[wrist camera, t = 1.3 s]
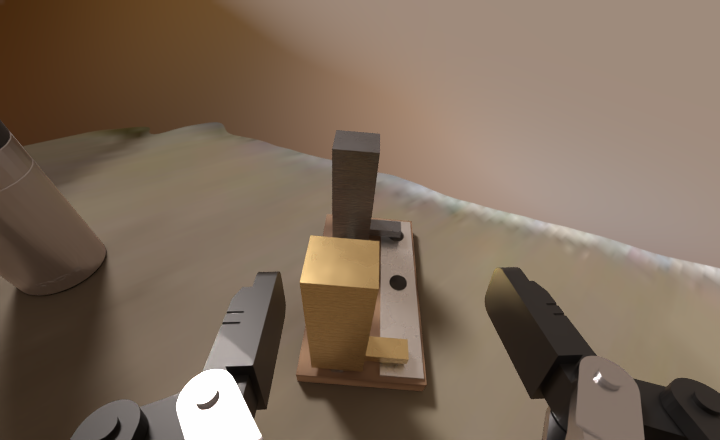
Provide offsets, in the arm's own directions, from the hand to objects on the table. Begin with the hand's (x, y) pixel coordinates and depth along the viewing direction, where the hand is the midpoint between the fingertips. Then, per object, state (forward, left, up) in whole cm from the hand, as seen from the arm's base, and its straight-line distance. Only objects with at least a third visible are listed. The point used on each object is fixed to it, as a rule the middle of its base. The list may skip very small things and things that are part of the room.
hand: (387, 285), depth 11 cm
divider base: (-10, +11, -25) cm, 29 cm away
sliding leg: (-4, +4, -22) cm, 23 cm away
